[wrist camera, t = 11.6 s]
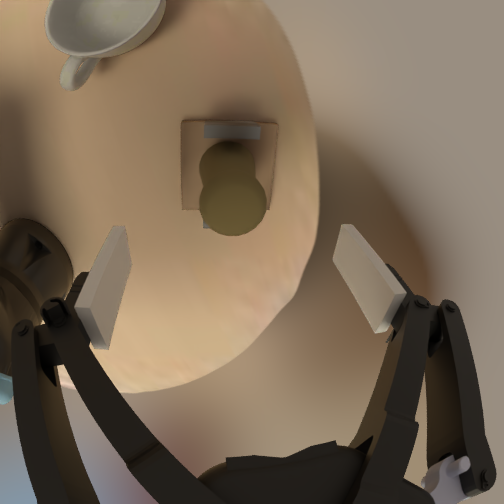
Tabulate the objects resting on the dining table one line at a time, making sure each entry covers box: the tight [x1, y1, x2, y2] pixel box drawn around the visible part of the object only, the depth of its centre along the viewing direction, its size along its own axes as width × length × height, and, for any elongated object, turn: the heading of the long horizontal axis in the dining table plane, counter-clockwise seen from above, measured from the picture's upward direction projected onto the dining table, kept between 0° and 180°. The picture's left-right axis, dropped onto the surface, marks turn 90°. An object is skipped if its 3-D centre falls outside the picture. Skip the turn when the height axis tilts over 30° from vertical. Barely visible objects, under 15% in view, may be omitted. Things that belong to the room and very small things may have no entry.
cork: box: [199, 141, 267, 236], centre depth 24 cm, size 6×6×11 cm
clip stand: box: [181, 120, 278, 228], centre depth 28 cm, size 10×10×5 cm
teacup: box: [45, 0, 166, 91], centre depth 16 cm, size 14×11×8 cm
